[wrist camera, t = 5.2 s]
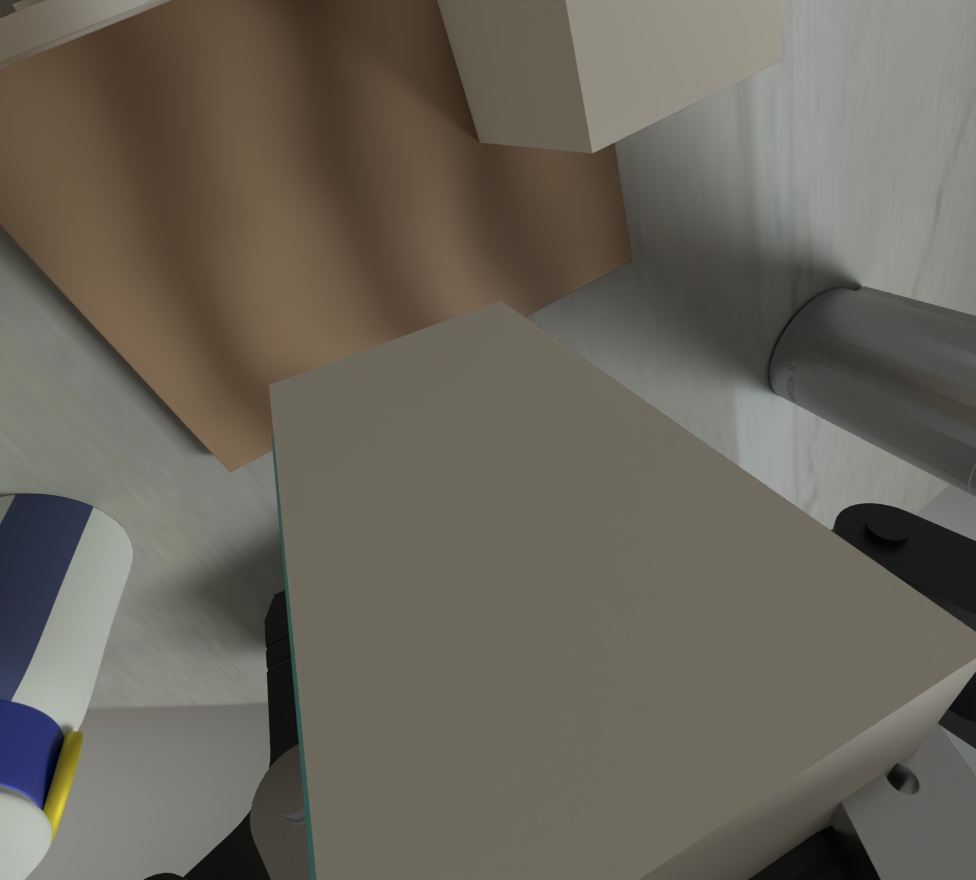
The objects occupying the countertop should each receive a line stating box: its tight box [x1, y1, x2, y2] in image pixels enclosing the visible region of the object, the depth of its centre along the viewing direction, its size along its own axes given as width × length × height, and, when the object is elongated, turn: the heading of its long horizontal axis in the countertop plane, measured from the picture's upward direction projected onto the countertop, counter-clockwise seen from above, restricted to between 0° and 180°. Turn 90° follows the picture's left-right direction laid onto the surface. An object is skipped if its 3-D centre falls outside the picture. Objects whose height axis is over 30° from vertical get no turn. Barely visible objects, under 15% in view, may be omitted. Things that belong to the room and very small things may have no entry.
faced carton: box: [437, 0, 784, 153], centre depth 17 cm, size 7×5×9 cm
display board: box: [0, 0, 632, 472], centre depth 21 cm, size 24×17×2 cm
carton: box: [269, 301, 976, 880], centre depth 9 cm, size 7×5×9 cm
